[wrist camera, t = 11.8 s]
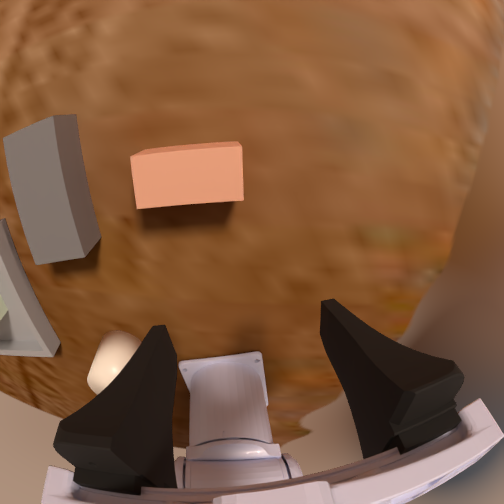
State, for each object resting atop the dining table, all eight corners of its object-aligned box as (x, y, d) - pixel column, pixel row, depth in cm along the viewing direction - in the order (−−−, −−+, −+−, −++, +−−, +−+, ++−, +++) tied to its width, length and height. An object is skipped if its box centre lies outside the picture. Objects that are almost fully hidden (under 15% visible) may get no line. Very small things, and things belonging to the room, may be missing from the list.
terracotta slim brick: (239, 186, 20) (243, 200, 16) (149, 193, 19) (137, 209, 16) (237, 141, 18) (241, 146, 15) (145, 149, 18) (130, 156, 14)
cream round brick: (152, 363, 26) (146, 403, 21) (112, 364, 26) (101, 402, 21) (136, 328, 24) (125, 370, 19) (94, 331, 24) (78, 370, 19)
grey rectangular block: (77, 114, 16) (53, 115, 13) (102, 235, 20) (85, 257, 17) (30, 132, 16) (2, 138, 12) (56, 244, 20) (35, 264, 16)
